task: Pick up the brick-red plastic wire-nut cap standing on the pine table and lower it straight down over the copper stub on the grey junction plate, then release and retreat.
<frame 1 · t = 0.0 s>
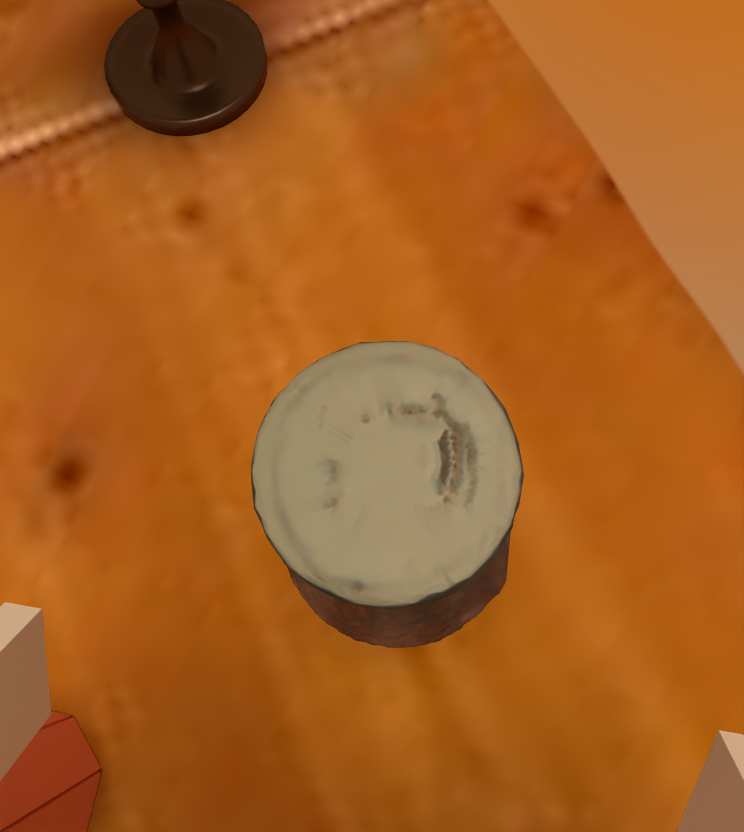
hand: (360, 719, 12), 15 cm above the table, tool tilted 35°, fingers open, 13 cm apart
wire nut: (22, 789, 26), on the table
candlestick: (190, 72, 36), on the table
sauce bottle: (398, 554, 28), on the table
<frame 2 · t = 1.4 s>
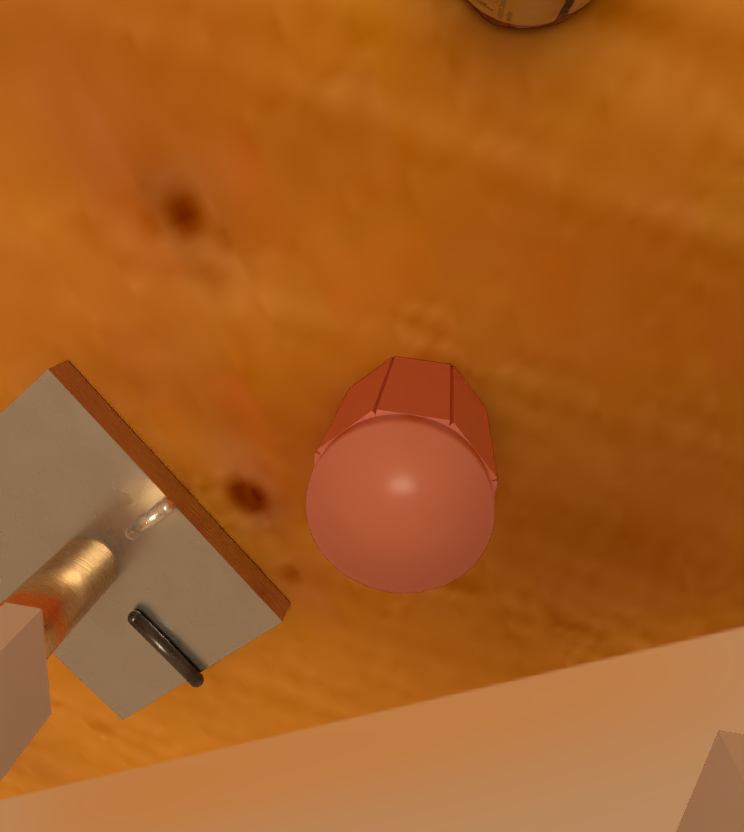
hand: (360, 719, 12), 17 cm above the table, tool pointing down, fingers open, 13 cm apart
wire nut: (413, 426, 28), on the table
junction plate: (105, 547, 32), on the table
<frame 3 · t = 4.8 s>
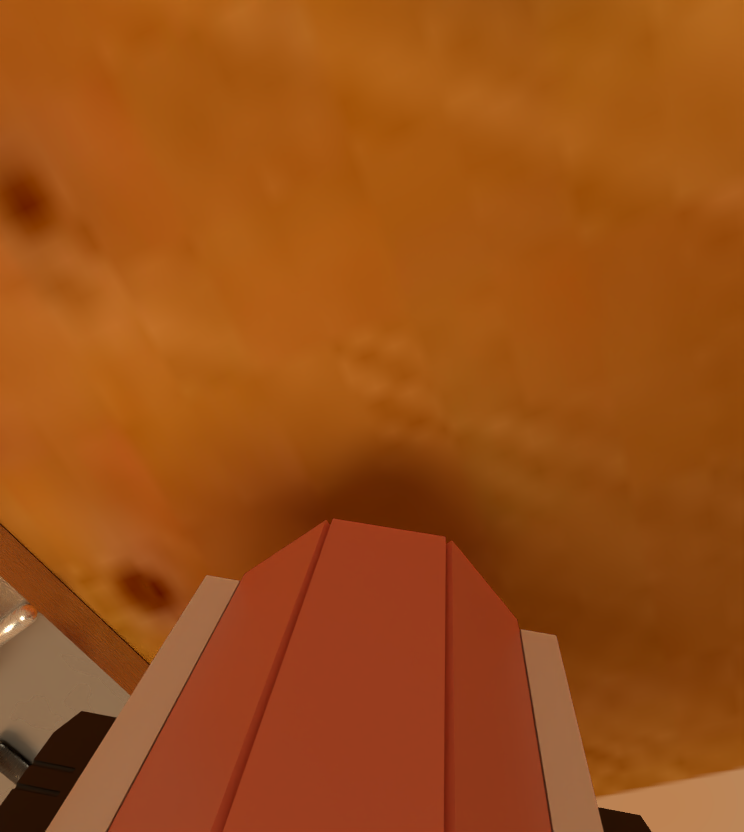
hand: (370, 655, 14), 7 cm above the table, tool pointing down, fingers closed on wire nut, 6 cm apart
wire nut: (372, 644, 14), point 6 cm above the table, touching gripper
when the fingers open (3 cm above the table, at t = 9.4 s): wire nut stays where it is, resting on junction plate.
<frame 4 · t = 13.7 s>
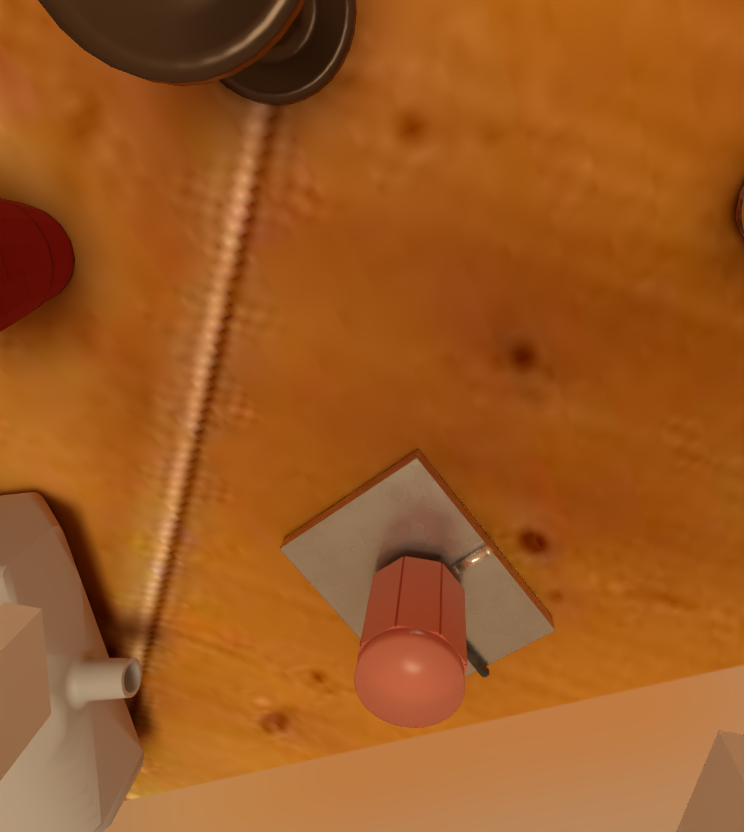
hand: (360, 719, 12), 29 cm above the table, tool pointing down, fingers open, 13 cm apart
wire nut: (416, 597, 42), point 2 cm above the table, touching junction plate
candlestick: (274, 13, 34), on the table
plastic cup: (36, 256, 40), on the table
tank: (79, 623, 50), on the table
junction plate: (417, 576, 44), on the table
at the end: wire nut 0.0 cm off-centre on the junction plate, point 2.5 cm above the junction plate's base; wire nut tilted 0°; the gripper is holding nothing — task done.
